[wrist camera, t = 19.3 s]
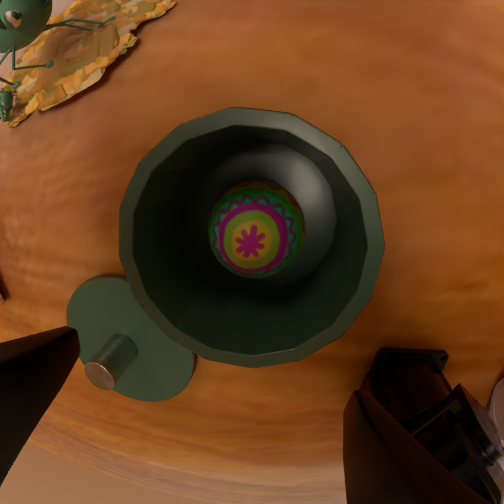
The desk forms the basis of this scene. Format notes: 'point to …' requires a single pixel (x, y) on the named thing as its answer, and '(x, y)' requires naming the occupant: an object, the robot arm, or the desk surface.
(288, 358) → the bin
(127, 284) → the bin lid
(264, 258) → the egg
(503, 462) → the headphones
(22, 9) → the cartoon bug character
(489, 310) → the desk surface
